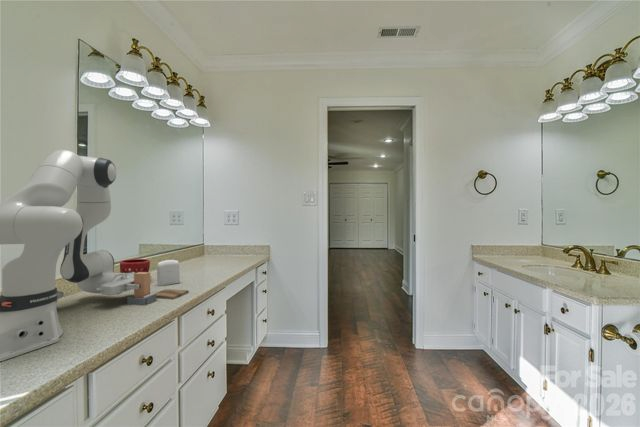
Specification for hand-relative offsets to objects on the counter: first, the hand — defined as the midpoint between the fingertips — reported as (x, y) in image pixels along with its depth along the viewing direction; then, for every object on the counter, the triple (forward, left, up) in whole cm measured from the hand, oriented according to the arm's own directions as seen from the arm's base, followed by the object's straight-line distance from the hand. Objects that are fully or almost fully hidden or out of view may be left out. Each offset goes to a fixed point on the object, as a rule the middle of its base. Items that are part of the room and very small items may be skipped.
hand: (144, 285), depth 121 cm
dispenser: (0, +1, -7) cm, 7 cm away
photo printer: (+28, +11, -7) cm, 31 cm away
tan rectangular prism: (0, +1, -7) cm, 7 cm away
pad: (+11, -3, -7) cm, 13 cm away
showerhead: (-17, +27, -7) cm, 33 cm away
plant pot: (+26, +29, -7) cm, 40 cm away
